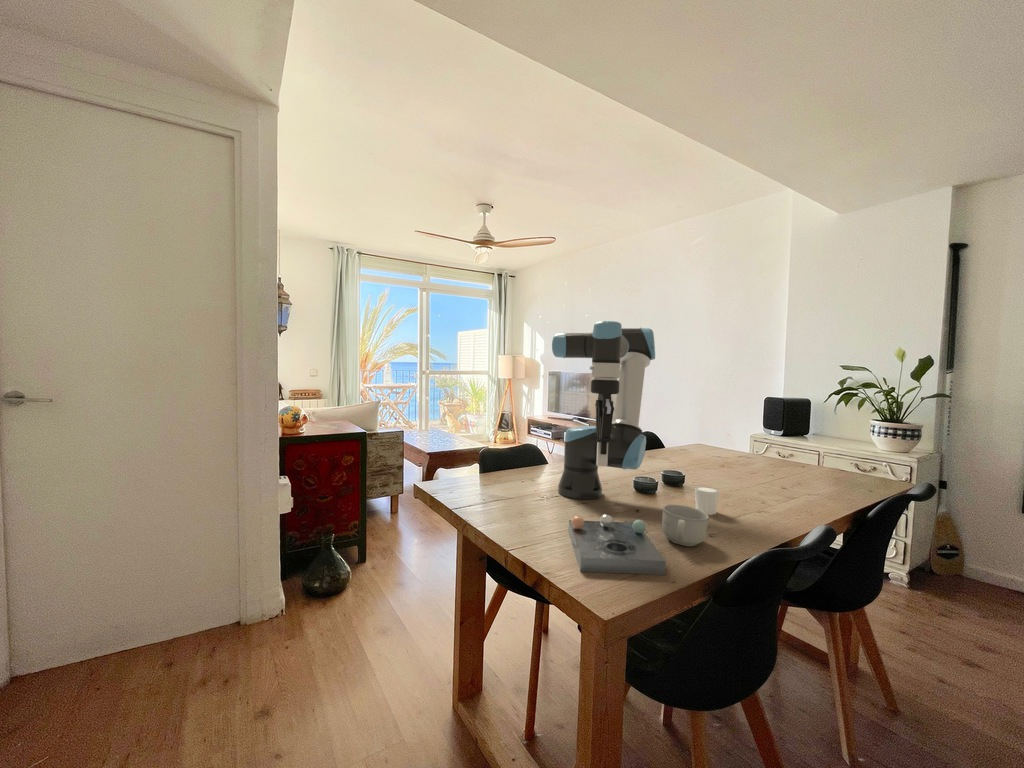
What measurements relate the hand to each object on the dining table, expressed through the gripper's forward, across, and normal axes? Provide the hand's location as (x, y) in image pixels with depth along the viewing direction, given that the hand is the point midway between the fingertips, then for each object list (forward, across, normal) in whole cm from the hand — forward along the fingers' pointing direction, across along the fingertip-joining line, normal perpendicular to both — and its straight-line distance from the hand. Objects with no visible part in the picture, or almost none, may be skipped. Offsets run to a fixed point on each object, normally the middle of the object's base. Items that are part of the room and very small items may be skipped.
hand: (601, 465), depth 114 cm
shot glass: (+17, -16, +36) cm, 43 cm away
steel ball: (+13, +8, 0) cm, 15 cm away
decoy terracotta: (+13, +10, -7) cm, 17 cm away
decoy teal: (+13, +11, +8) cm, 18 cm away
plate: (+17, +15, 0) cm, 23 cm away
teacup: (+17, +9, +19) cm, 27 cm away
